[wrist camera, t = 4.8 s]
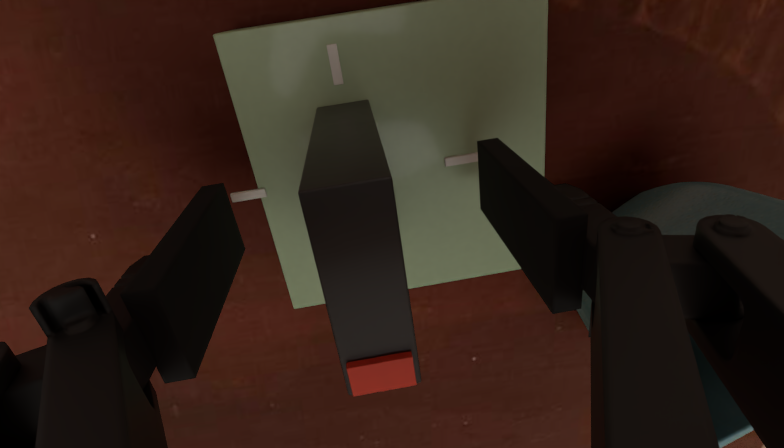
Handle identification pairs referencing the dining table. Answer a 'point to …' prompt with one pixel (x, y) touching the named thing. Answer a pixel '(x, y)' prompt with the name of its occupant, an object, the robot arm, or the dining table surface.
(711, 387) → the flower pot
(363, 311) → the dark charcoal cuboid
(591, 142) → the dining table surface
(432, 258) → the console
